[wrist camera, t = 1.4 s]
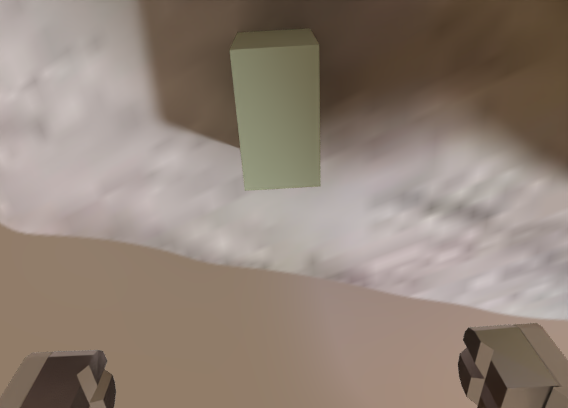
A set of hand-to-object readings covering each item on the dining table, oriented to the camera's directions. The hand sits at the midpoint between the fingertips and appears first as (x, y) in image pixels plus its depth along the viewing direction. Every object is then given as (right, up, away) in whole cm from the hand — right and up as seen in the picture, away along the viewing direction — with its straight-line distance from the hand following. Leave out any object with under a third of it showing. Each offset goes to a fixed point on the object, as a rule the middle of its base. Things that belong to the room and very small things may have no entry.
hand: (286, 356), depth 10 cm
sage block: (0, +11, +19) cm, 22 cm away
